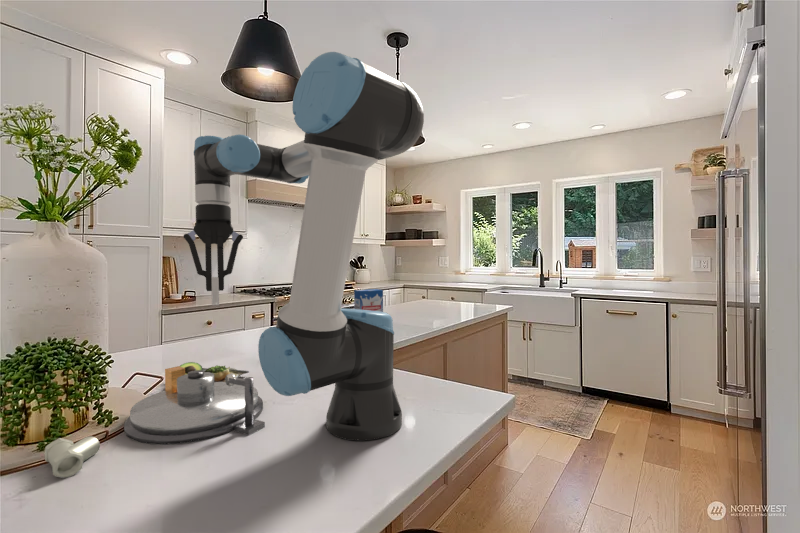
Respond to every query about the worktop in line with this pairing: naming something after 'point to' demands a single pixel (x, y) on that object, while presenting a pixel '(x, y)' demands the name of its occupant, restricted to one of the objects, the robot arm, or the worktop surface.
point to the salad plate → (213, 370)
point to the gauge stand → (246, 405)
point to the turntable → (188, 408)
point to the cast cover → (195, 388)
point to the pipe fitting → (70, 455)
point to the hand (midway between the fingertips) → (215, 304)
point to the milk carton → (368, 299)
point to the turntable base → (185, 437)
